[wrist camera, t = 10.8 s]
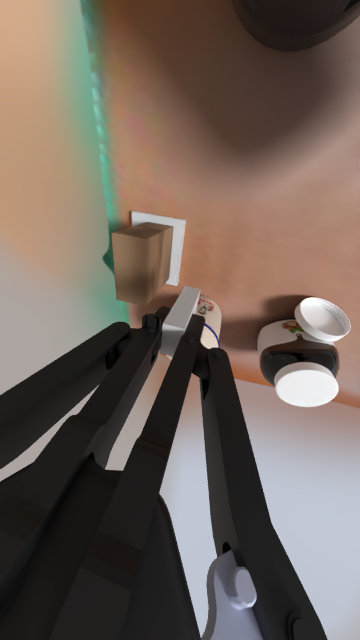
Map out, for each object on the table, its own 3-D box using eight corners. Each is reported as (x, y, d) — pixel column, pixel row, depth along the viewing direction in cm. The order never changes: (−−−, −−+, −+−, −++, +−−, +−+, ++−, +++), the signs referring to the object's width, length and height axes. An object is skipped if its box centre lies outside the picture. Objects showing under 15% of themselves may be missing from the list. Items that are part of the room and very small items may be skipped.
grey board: (134, 210, 29) (131, 211, 28) (186, 219, 28) (184, 220, 27) (135, 274, 35) (132, 276, 34) (178, 283, 34) (176, 285, 33)
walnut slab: (146, 273, 33) (116, 299, 25) (147, 221, 29) (111, 232, 21) (169, 278, 33) (145, 306, 24) (173, 226, 28) (147, 239, 20)
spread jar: (256, 352, 37) (262, 406, 28) (253, 299, 32) (259, 343, 23) (332, 351, 33) (369, 413, 24) (342, 290, 28) (395, 339, 19)
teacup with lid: (219, 289, 33) (211, 328, 23) (226, 334, 37) (221, 382, 27) (154, 297, 36) (125, 333, 27) (167, 336, 41) (146, 380, 31)
